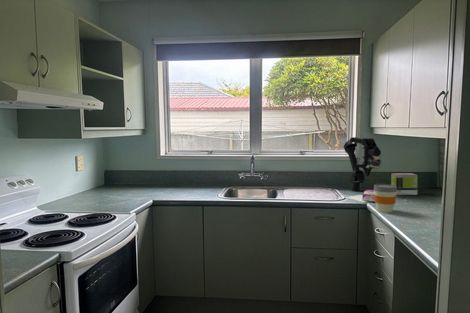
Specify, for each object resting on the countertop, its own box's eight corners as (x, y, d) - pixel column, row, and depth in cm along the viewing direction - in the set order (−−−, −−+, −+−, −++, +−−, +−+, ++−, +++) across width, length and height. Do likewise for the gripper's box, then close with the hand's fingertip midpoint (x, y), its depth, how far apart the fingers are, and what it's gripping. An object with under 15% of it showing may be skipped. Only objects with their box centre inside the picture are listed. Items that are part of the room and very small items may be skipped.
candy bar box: (382, 190, 229) (380, 195, 214) (382, 197, 229) (380, 202, 215) (365, 189, 234) (362, 193, 219) (365, 195, 234) (362, 200, 220)
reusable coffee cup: (376, 207, 205) (377, 183, 204) (398, 210, 197) (399, 185, 196) (370, 211, 195) (370, 186, 194) (393, 214, 188) (394, 188, 186)
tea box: (411, 192, 249) (412, 172, 247) (417, 195, 239) (418, 174, 237) (390, 192, 250) (391, 172, 249) (395, 195, 240) (396, 174, 239)
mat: (360, 195, 239) (360, 194, 239) (379, 199, 225) (379, 199, 225) (344, 198, 231) (344, 197, 231) (363, 202, 217) (363, 201, 217)
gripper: (369, 156, 229) (368, 179, 231) (386, 155, 239) (385, 176, 240) (356, 155, 239) (355, 177, 240) (373, 154, 248) (372, 175, 250)
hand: (367, 176), depth 242 cm, fingers closed
